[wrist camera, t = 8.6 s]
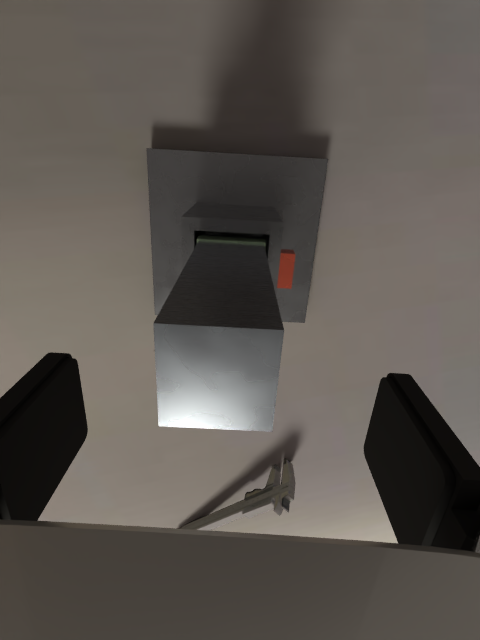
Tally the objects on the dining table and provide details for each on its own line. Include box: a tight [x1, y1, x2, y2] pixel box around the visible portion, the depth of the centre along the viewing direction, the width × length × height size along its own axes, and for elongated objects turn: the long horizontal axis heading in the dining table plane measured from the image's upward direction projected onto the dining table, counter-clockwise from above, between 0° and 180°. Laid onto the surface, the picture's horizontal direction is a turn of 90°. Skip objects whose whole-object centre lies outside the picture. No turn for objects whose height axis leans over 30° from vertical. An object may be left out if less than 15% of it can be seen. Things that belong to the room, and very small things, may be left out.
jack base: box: [147, 148, 328, 323], centre depth 28 cm, size 14×14×9 cm
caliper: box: [180, 459, 295, 531], centre depth 43 cm, size 20×1×6 cm, turn 134°
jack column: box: [154, 234, 284, 432], centre depth 18 cm, size 4×4×14 cm
